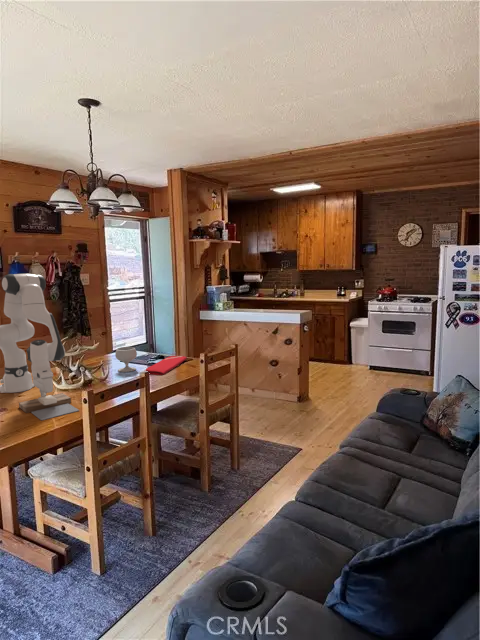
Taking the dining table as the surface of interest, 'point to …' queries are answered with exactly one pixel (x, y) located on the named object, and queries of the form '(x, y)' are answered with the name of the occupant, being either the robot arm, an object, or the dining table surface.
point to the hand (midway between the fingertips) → (43, 397)
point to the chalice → (126, 357)
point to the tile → (47, 400)
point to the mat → (54, 411)
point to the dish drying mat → (165, 365)
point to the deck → (36, 405)
